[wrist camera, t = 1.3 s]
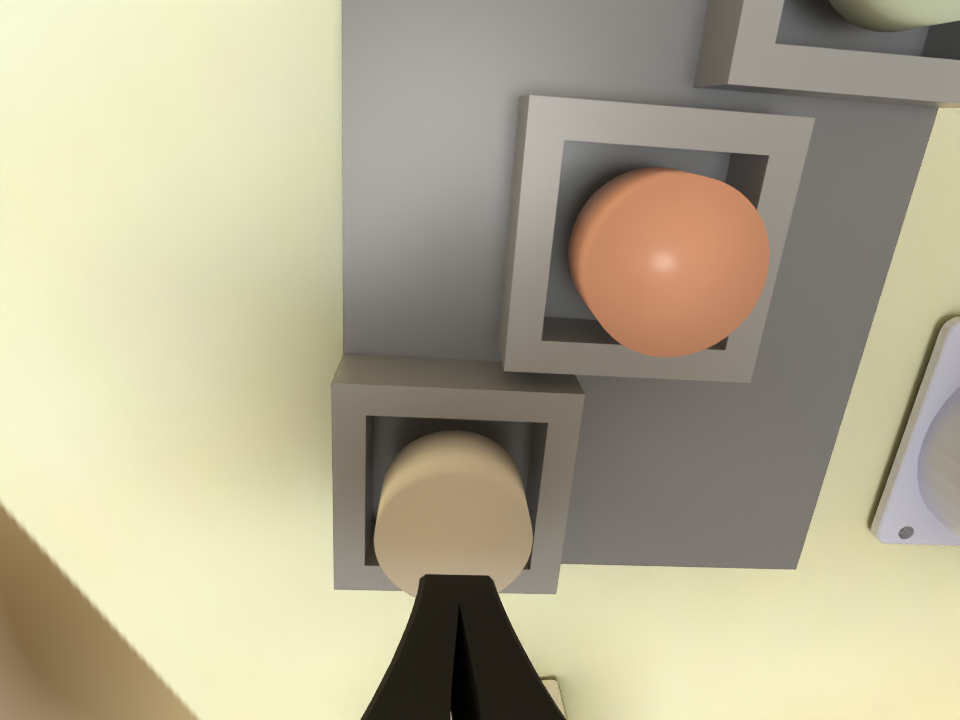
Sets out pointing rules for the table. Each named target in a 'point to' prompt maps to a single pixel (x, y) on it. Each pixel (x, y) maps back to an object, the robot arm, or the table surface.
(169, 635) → the table surface
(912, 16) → the button sage
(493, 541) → the button cream
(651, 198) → the button terracotta
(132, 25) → the table surface
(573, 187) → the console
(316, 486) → the table surface
